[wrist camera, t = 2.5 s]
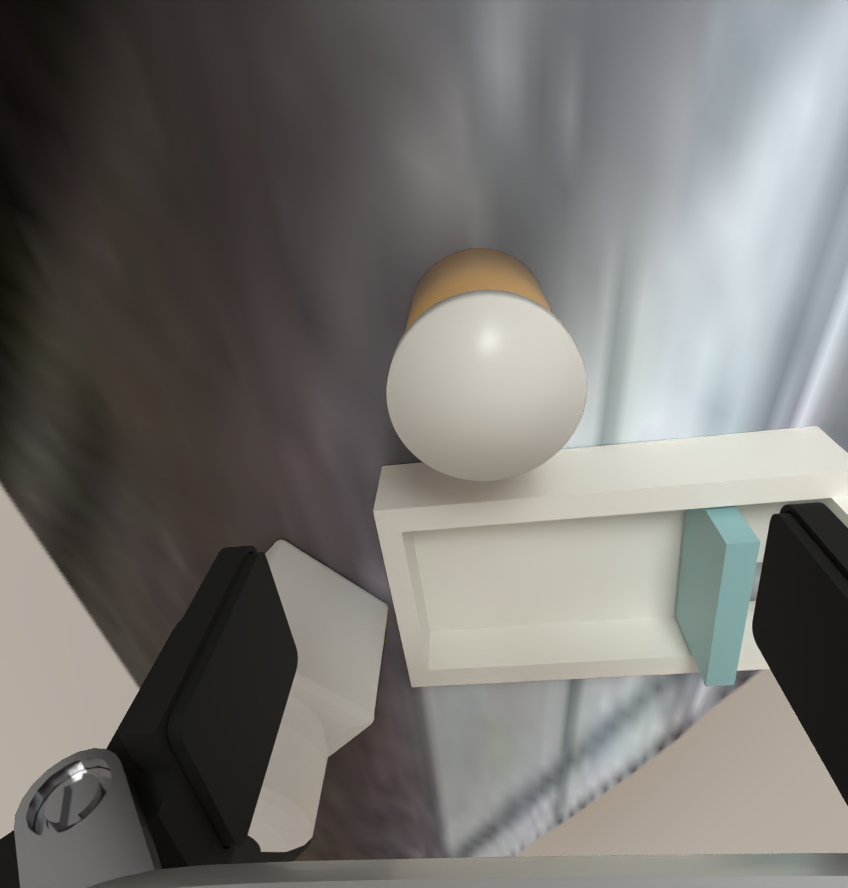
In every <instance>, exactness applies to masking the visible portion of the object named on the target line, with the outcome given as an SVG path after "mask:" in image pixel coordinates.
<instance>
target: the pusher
mask: <svg viewBox="0 0 848 888" xmlns="http://www.w3.org/2000/svg"><path fill="white" fill-rule="evenodd" d="M759 547H760V540H759V539H758V537H757V536H756V535H755V533H754V532H753V530H752V529H751V527H750V526H749V525H748V523H747V522H746V520H745V519H744V517H743V516H742V515H741V513H740V512H739V510H738V509H737V507H736V506H722V507H710V508H697V509H686V517H685V527H684V537H683V547H682V557H681V567H680V577H679V586H678V596H677V606H676V619H677V621H678V623H679V626H680V628H681V630H682V633H683V635H684V637H685V639H686V642H687V644H688V646H689V649H690V651H691V653H692V656H693V658H694V660H695V663H696V665H697V667H698V670H699V672H700V674H701V677H702V679H703V681H704V684H705V686H723V685H734V684H735V678H736V673H737V667H738V662H739V656H740V651H741V645H742V640H743V635H744V629H745V624H746V618H747V613H748V607H749V602H750V601H756V598H757V592H758V586H759V580H760V575H761V569H762V563H763V562H757V558H758V553H759Z"/></svg>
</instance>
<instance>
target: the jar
mask: <svg viewBox="0 0 848 888" xmlns="http://www.w3.org/2000/svg"><path fill="white" fill-rule="evenodd" d="M586 392H587V383H586V374H585V369H584V365H583V362H582V359H581V357H580V354H579V352H578V350H577V348H576V346H575V344H574V342H573V340H572V338H571V336H570V334H569V333H568V331H567V329H566V328H565V327H564V325H563V324H562V323H561V322H560V320H559V319H558V318H557V317H556V316H555V315H554V314H553V313H552V311H551V309H550V307H549V305H548V303H547V301H546V298H545V296H544V294H543V292H542V290H541V288H540V286H539V284H538V282H537V280H536V278H535V277H534V275H533V274H532V273H531V272H530V270H529V269H528V268H527V267H526V266H525V265H524V264H523V263H521V262H520V261H518V260H517V259H516V258H514V257H512V256H510V255H508V254H506V253H503V252H500V251H497V250H492V249H485V248H475V249H467V250H462V251H459V252H456V253H453V254H451V255H449V256H447V257H445V258H443V259H442V260H440V261H439V262H437V263H436V264H435V265H434V266H433V267H431V268H430V269H429V270H428V272H427V273H426V274H425V275H424V276H423V278H422V279H421V281H420V282H419V284H418V286H417V288H416V290H415V292H414V296H413V299H412V302H411V307H410V312H409V316H408V321H407V325H406V330H405V333H404V334H403V336H402V337H401V339H400V341H399V343H398V345H397V347H396V349H395V353H394V356H393V359H392V362H391V366H390V370H389V375H388V381H387V393H386V397H387V406H388V411H389V415H390V419H391V421H392V424H393V426H394V429H395V431H396V432H397V434H398V436H399V438H400V439H401V441H402V442H403V443H404V444H405V446H406V447H407V448H408V449H409V450H410V451H411V452H412V453H413V454H414V455H415V456H416V457H417V458H418V459H420V460H421V461H422V462H423V463H425V464H426V465H428V466H430V467H431V468H433V469H435V470H437V471H439V472H441V473H444V474H446V475H449V476H452V477H456V478H460V479H465V480H473V481H495V480H502V479H507V478H511V477H515V476H518V475H521V474H524V473H526V472H529V471H531V470H533V469H535V468H537V467H539V466H540V465H542V464H543V463H545V462H546V461H548V460H549V459H550V458H552V457H553V456H554V455H555V454H556V453H557V452H559V451H560V449H561V448H562V447H563V446H564V445H565V444H566V443H567V442H568V440H569V439H570V437H571V436H572V435H573V433H574V431H575V430H576V428H577V426H578V424H579V422H580V419H581V416H582V414H583V411H584V406H585V402H586Z"/></svg>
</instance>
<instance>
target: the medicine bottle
mask: <svg viewBox="0 0 848 888" xmlns="http://www.w3.org/2000/svg"><path fill="white" fill-rule="evenodd" d="M265 555H266V558H267V560H268V563H269V566H270V569H271V572H272V575H273V578H274V581H275V584H276V587H277V590H278V593H279V596H280V600H281V603H282V606H283V609H284V612H285V615H286V618H287V621H288V624H289V627H290V630H291V633H292V636H293V639H294V642H295V645H296V648H297V652H298V665H297V670H296V673H295V677H294V680H293V683H292V687H291V690H290V693H289V697H288V700H287V704H286V707H285V710H284V714H283V717H282V720H281V724H280V727H279V731H278V734H277V737H276V741H275V744H274V747H273V751H272V754H271V758H270V761H269V764H268V768H267V771H266V774H265V778H264V781H263V785H262V788H261V791H260V795H259V798H258V801H257V805H256V808H255V812H254V815H253V818H252V822H251V825H250V828H249V832H248V835H247V838H246V840H245V842H244V844H243V845H242V846H241V847H235V850H234V853H233V856H232V859H231V863H230V864H242V863H267V862H292V861H293V860H295V859H296V858H297V857H298V856H299V855H300V854H301V853H302V852H303V851H304V850H305V849H306V848H307V847H308V846H309V844H310V842H311V839H312V836H313V831H314V826H315V821H316V816H317V810H318V805H319V800H320V795H321V790H322V785H323V780H324V774H325V769H326V764H327V759H328V757H329V756H330V755H332V754H333V753H334V752H336V751H337V750H338V749H340V748H341V747H342V746H343V745H345V744H346V743H347V742H349V741H350V740H351V739H353V738H354V737H355V736H356V735H358V734H359V733H360V732H362V731H363V730H364V729H366V728H367V727H368V726H370V725H371V724H372V722H373V721H374V718H375V711H376V703H377V696H378V688H379V680H380V673H381V665H382V658H383V650H384V642H385V635H386V627H387V619H388V612H389V610H388V605H387V604H386V603H384V602H383V601H381V600H379V599H378V598H376V597H375V596H373V595H371V594H370V593H368V592H367V591H365V590H363V589H362V588H360V587H359V586H357V585H355V584H354V583H352V582H351V581H349V580H347V579H346V578H344V577H343V576H341V575H339V574H338V573H336V572H335V571H333V570H331V569H330V568H328V567H327V566H325V565H323V564H322V563H320V562H319V561H317V560H315V559H314V558H312V557H311V556H309V555H307V554H306V553H304V552H303V551H301V550H299V549H298V548H296V547H295V546H293V545H291V544H290V543H288V542H287V541H284V540H278V541H276V542H275V544H274V545H273V546H272V547H271V548H270V549H269V550H268V551H267V552H266V553H265Z"/></svg>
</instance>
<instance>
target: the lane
mask: <svg viewBox="0 0 848 888" xmlns="http://www.w3.org/2000/svg"><path fill="white" fill-rule="evenodd" d="M813 502H820V503H823V504H825V505H826V506H827V507H828V508H829V509H830V510H831V511H832V512H833V513H834V514H835V515H836V516H837V517H838V518H839V519H840V520H841V521H842V522H843V524H844V525H845V526H846V527H847V528H848V453H847V452H846V451H844V450H843V449H842V448H841V447H840V446H839V445H838V444H837V443H835V442H834V441H833V440H832V439H831V438H830V437H829V436H828V435H826V434H825V433H824V432H823V431H822V430H821V429H820V428H819V427H817V426H811V427H800V428H789V429H778V430H768V431H757V432H746V433H735V434H724V435H713V436H703V437H692V438H681V439H670V440H659V441H648V442H638V443H627V444H616V445H605V446H594V447H583V448H573V449H562V450H560V451H559V452H557V453H556V454H555V455H554V456H553V457H552V458H550V459H549V460H548V461H546V462H545V463H543V464H542V465H540V466H539V467H537V468H535V469H533V470H531V471H529V472H526V473H524V474H521V475H518V476H515V477H511V478H507V479H502V480H495V481H473V480H465V479H460V478H456V477H452V476H449V475H446V474H444V473H441V472H439V471H437V470H435V469H433V468H431V467H430V466H428V465H426V464H425V463H423V462H421V463H410V464H399V465H388V466H382V469H381V474H380V479H379V484H378V489H377V494H376V499H375V504H374V509H373V513H374V517H375V522H376V527H377V531H378V536H379V540H380V545H381V549H382V554H383V559H384V563H385V568H386V572H387V577H388V581H389V586H390V590H391V595H392V600H393V604H394V609H395V613H396V618H397V622H398V627H399V631H400V636H401V641H402V645H403V650H404V654H405V659H406V663H407V668H408V673H409V677H410V682H411V686H412V687H431V686H450V685H469V684H489V683H508V682H528V681H547V680H566V679H586V678H605V677H625V676H644V675H663V674H683V673H700V672H699V670H698V667H697V665H696V663H695V660H694V658H693V656H692V653H691V651H690V649H689V646H688V644H687V642H686V639H685V637H684V635H683V633H682V630H681V628H680V626H679V623H678V621H677V619H676V606H677V596H678V586H679V577H680V567H681V557H682V547H683V537H684V527H685V517H686V509H697V508H710V507H722V506H736V507H737V509H738V510H739V512H740V513H741V515H742V516H743V517H744V519H745V520H746V522H747V523H748V525H749V526H750V527H751V529H752V530H753V532H754V533H755V535H756V536H757V537H758V539H759V540H760V547H759V553H758V558H757V562H763V557H764V552H765V546H766V540H767V534H768V529H769V523H770V519H771V516H772V515H773V514H777V513H780V510H781V508H782V507H783V506H784V505H787V504H800V503H813ZM755 603H756V601H750V602H749V607H748V613H747V618H746V624H745V629H744V635H743V640H742V645H741V651H740V656H739V662H738V667H737V671H741V670H760V669H770V668H769V666H768V664H767V662H766V661H765V659H764V657H763V655H762V654H761V652H760V650H759V648H758V647H757V645H756V642H755V640H754V637H753V632H752V621H753V615H754V609H755Z"/></svg>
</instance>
